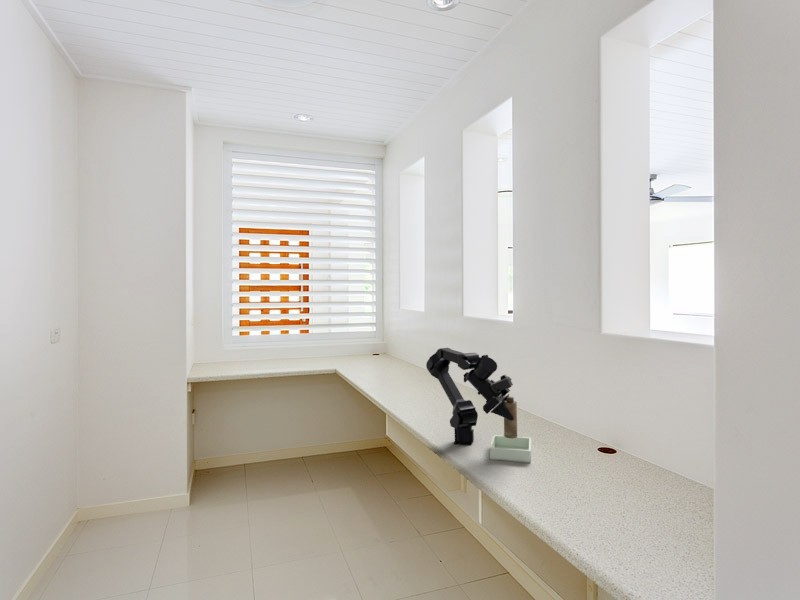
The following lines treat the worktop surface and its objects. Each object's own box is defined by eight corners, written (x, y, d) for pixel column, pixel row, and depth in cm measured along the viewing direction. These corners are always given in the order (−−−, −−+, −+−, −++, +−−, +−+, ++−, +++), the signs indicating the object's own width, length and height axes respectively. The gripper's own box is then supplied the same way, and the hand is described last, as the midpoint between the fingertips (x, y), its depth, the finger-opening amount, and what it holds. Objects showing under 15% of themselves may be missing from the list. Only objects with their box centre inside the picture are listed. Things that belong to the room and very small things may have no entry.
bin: (490, 459, 154) (489, 447, 154) (493, 446, 166) (493, 435, 166) (530, 462, 150) (530, 450, 150) (531, 448, 162) (531, 437, 162)
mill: (503, 437, 157) (503, 398, 156) (504, 433, 161) (503, 395, 160) (517, 438, 155) (516, 399, 155) (517, 434, 159) (516, 396, 159)
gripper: (491, 374, 150) (526, 410, 146) (503, 364, 167) (535, 396, 163) (469, 395, 154) (502, 431, 150) (483, 384, 171) (513, 416, 167)
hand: (514, 417), depth 157 cm, fingers closed on mill, 4 cm apart
